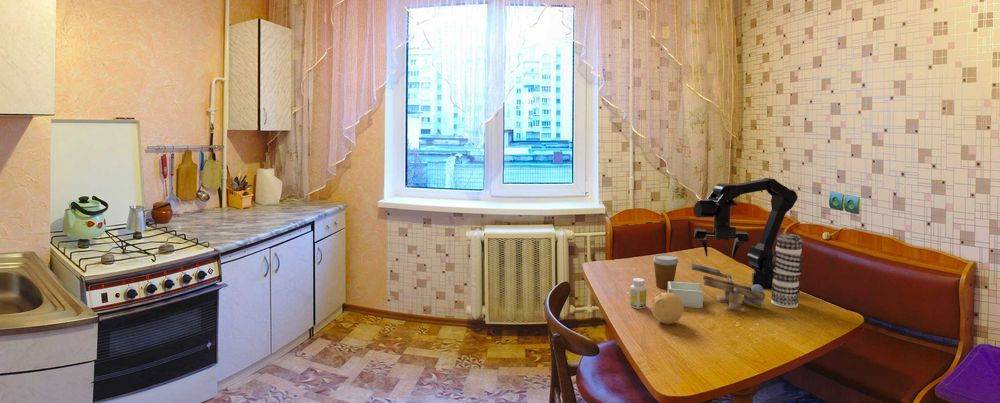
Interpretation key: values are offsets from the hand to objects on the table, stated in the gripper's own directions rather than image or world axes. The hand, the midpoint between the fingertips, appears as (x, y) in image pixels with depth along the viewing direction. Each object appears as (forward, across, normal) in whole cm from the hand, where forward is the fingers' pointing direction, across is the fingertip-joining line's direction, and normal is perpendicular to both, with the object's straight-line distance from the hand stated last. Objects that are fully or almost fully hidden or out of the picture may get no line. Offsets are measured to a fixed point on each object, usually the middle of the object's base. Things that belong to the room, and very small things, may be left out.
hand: (719, 257), depth 192 cm
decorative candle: (+13, +21, -10) cm, 27 cm away
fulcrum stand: (+13, +4, -16) cm, 21 cm away
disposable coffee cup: (+13, -19, -3) cm, 24 cm away
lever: (+9, +1, -14) cm, 17 cm away
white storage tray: (+13, -12, -20) cm, 26 cm away
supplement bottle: (+13, -28, -29) cm, 42 cm away
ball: (+6, +11, -18) cm, 22 cm away
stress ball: (+13, -18, -41) cm, 47 cm away
